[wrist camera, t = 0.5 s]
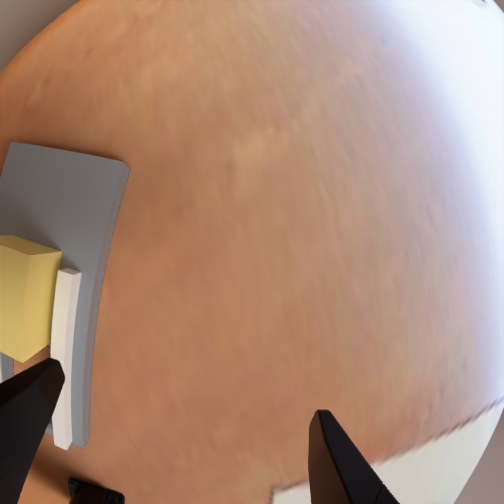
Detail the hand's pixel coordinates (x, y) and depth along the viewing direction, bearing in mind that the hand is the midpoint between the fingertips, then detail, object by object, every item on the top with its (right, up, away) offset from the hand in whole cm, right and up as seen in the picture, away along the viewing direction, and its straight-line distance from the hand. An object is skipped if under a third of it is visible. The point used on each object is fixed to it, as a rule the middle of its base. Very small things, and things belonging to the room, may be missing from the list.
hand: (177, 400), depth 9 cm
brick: (-14, +2, +9) cm, 17 cm away
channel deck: (-15, +1, +11) cm, 18 cm away
